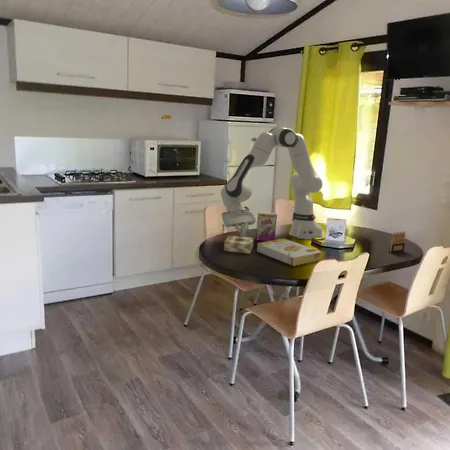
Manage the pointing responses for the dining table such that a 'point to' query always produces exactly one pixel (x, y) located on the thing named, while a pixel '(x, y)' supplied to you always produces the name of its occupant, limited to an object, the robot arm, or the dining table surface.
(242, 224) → the bottle
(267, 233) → the candy bar box
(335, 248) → the dining table surface
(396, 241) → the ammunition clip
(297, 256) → the cereal box
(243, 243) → the block with square hole
